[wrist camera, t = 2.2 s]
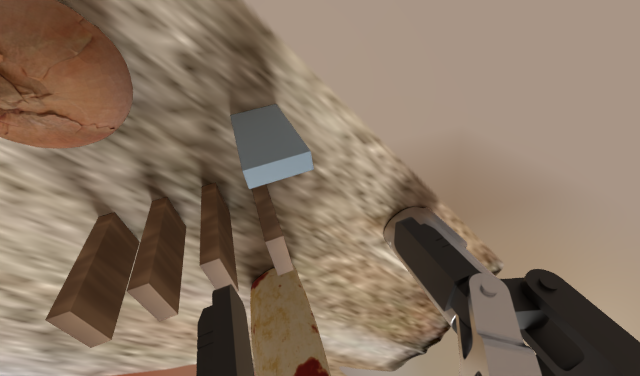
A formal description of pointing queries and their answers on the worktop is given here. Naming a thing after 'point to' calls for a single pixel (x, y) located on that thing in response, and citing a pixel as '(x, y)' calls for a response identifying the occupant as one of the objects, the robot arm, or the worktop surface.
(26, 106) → the onion
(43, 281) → the worktop surface
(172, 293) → the domino
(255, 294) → the food model
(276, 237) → the domino
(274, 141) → the domino
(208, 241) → the domino
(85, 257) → the domino
